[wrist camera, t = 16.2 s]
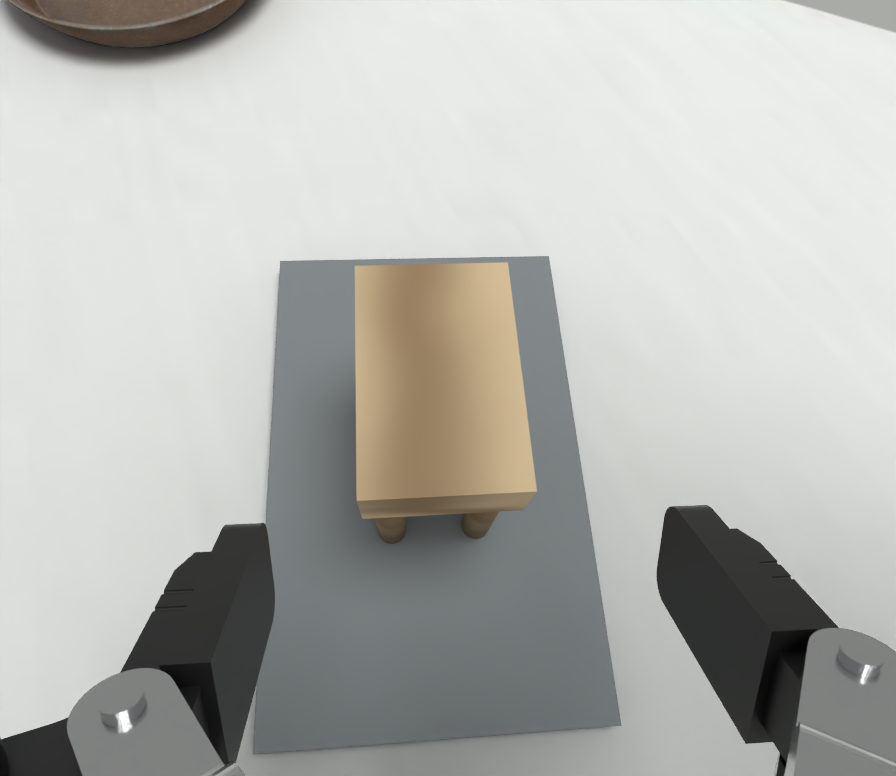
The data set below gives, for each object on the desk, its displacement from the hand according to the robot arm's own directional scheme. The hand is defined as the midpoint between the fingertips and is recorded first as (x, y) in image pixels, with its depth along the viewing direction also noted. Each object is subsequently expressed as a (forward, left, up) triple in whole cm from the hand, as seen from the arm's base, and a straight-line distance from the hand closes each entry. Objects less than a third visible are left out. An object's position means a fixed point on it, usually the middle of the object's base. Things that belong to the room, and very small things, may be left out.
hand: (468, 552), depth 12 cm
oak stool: (+6, 0, -14) cm, 16 cm away
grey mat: (+6, 0, -15) cm, 17 cm away
